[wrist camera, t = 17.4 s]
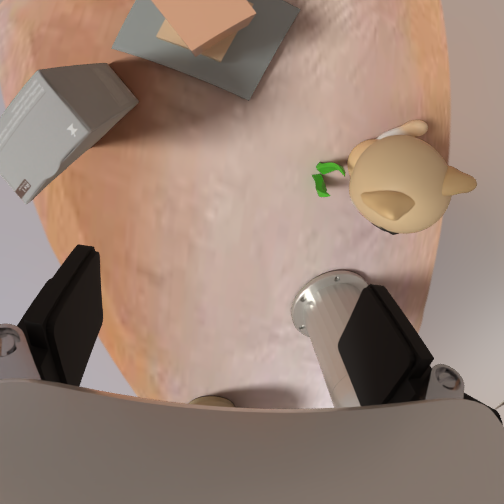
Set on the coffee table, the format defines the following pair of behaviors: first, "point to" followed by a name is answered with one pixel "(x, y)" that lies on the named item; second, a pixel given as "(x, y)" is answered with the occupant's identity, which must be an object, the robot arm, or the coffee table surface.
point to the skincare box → (58, 123)
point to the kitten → (399, 180)
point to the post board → (205, 69)
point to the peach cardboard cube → (205, 20)
